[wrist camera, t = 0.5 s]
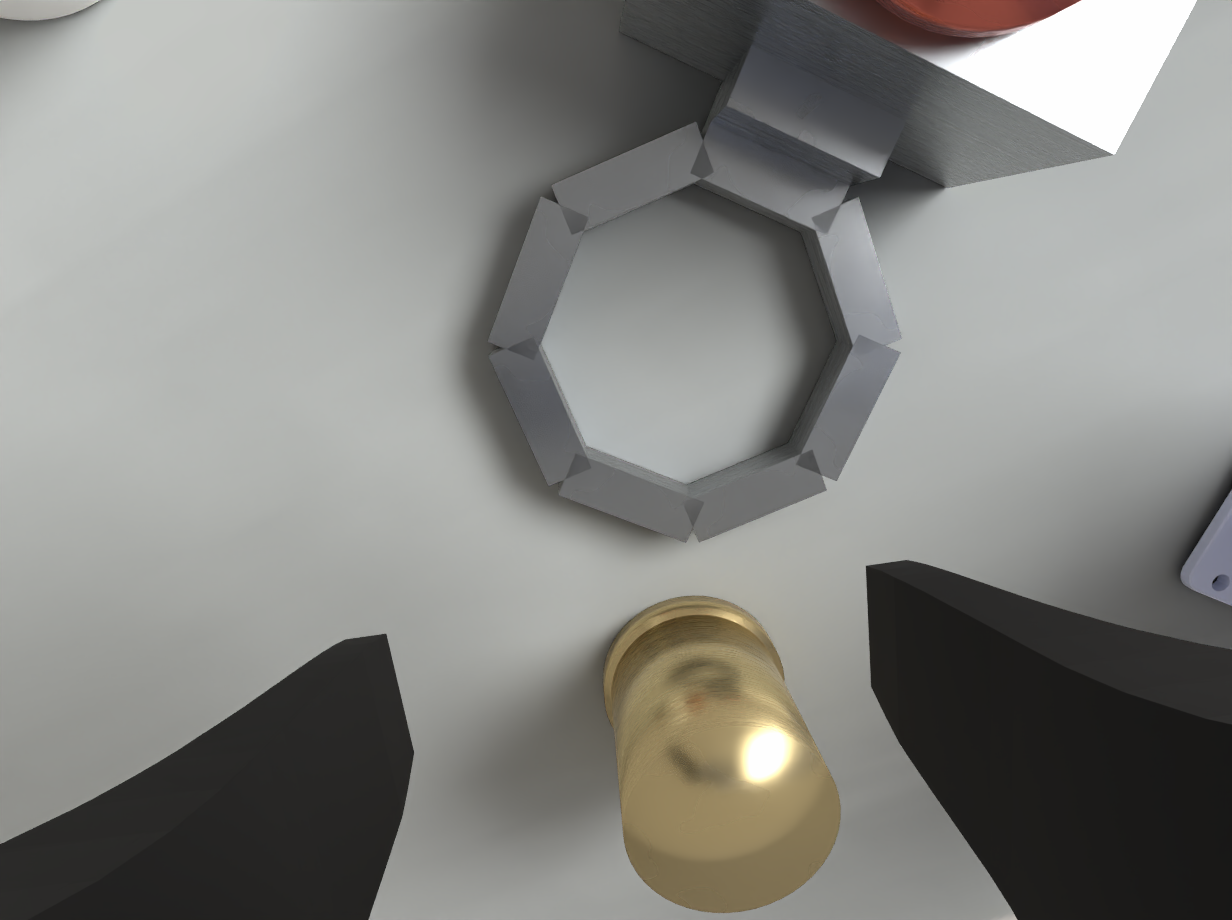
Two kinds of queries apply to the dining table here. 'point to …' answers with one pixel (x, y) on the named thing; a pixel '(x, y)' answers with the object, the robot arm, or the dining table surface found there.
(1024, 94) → the red button switch
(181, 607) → the dining table surface
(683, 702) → the knob
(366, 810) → the robot arm
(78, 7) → the cup
